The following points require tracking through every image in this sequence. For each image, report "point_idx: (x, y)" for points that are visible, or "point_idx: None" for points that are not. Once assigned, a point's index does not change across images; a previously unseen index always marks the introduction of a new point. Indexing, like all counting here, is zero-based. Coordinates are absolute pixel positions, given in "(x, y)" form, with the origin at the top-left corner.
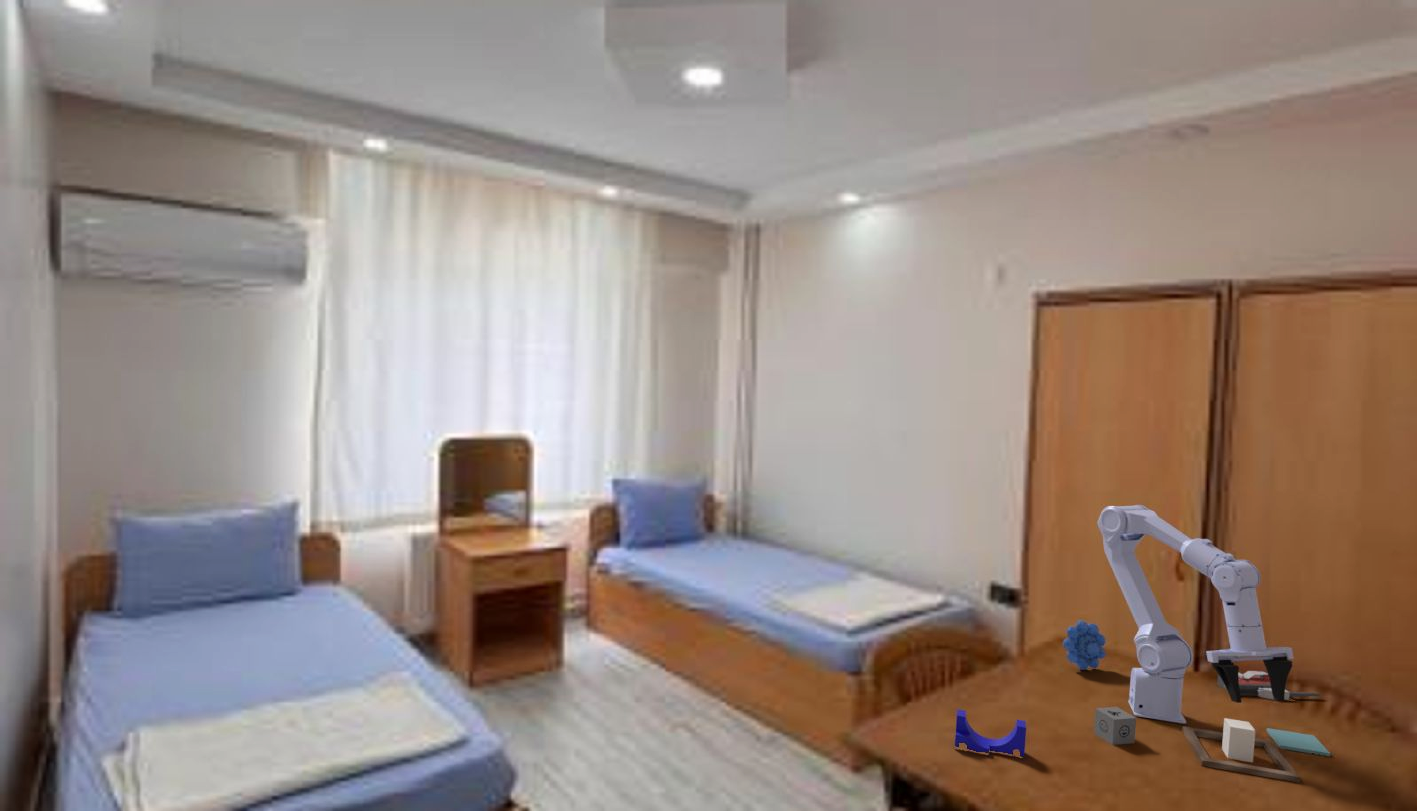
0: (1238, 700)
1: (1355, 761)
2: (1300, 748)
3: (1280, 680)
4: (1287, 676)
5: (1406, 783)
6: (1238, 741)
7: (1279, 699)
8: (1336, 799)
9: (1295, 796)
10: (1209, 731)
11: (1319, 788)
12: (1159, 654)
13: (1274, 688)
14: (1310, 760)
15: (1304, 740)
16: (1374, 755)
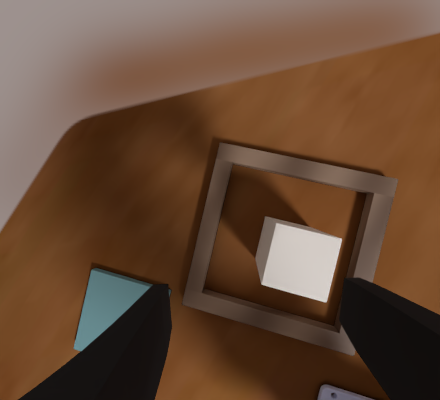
0: (363, 280)
1: (62, 254)
2: (137, 283)
3: (114, 363)
4: (21, 397)
5: (31, 183)
6: (304, 227)
7: (168, 292)
8: (190, 95)
9: (260, 88)
10: (299, 333)
11: (195, 131)
12: None
13: (155, 359)
14: (143, 244)
15: (106, 322)
16: (13, 285)
